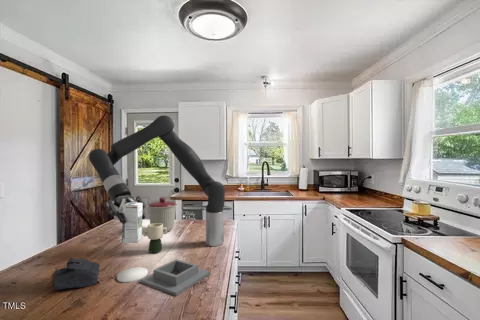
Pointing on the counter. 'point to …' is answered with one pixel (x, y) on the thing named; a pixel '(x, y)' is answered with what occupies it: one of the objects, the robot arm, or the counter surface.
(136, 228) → the syrup box
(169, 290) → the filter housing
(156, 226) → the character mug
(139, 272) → the rubber pad
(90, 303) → the counter surface
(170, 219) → the canister
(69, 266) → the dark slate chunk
